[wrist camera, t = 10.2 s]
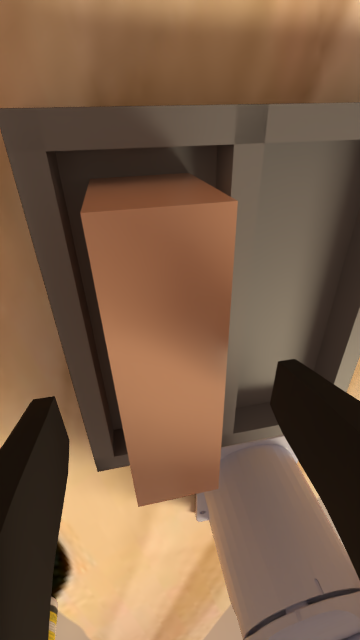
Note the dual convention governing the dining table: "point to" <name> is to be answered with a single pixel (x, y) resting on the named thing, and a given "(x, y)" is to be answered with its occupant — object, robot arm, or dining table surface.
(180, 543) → the dining table surface
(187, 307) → the tan rectangular block
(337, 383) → the grey divided tray
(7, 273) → the dining table surface
